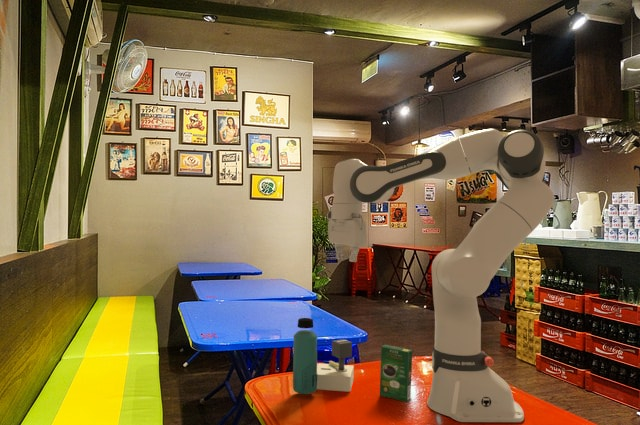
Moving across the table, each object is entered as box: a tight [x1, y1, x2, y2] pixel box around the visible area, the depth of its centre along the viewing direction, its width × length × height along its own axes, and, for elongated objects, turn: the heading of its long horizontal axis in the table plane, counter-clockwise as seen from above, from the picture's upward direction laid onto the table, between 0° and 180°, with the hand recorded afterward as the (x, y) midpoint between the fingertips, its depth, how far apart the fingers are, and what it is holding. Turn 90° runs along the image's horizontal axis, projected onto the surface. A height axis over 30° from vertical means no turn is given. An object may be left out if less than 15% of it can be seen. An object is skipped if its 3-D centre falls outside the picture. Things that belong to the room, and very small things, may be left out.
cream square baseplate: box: [316, 362, 355, 393], centre depth 134 cm, size 12×11×4 cm
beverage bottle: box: [292, 317, 318, 395], centre depth 124 cm, size 6×7×20 cm
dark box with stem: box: [328, 338, 353, 370], centre depth 135 cm, size 8×4×8 cm, turn 32°
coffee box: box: [379, 344, 413, 403], centre depth 124 cm, size 8×3×13 cm, turn 57°
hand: (346, 260), depth 141 cm, fingers open, 8 cm apart
